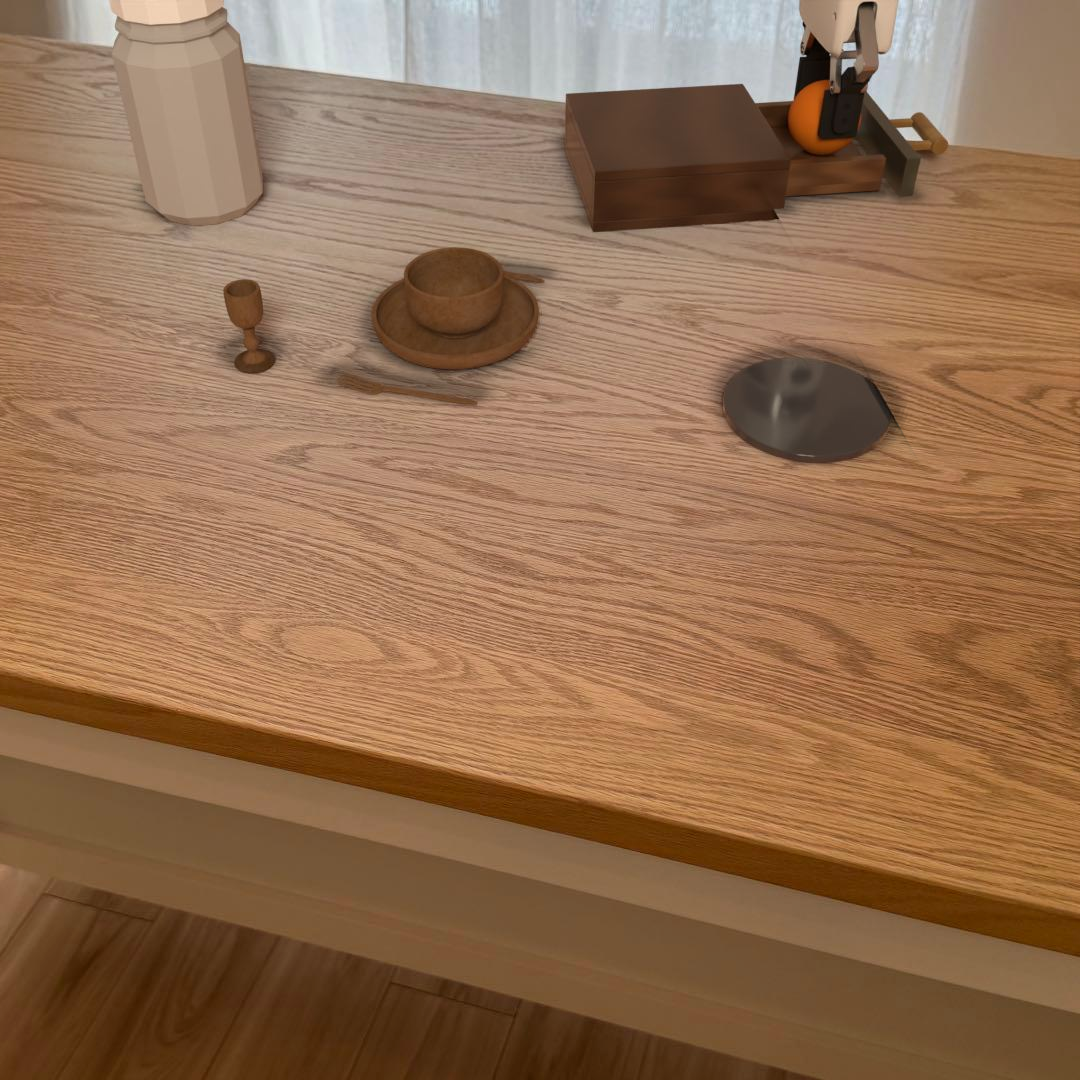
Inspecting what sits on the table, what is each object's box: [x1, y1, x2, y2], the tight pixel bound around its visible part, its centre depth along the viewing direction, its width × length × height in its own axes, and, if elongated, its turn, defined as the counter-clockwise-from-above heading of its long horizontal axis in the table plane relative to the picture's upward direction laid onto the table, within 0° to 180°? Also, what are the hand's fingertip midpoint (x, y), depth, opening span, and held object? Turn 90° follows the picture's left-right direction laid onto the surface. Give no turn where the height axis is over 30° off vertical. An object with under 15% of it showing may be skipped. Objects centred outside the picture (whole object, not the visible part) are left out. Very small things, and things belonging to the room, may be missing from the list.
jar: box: [108, 0, 264, 227], centre depth 98 cm, size 10×10×18 cm
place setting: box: [222, 246, 545, 406], centre depth 88 cm, size 18×20×6 cm
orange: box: [788, 80, 861, 155], centre depth 104 cm, size 6×6×6 cm
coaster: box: [722, 356, 892, 464], centre depth 83 cm, size 11×11×1 cm
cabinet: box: [564, 83, 791, 233], centre depth 105 cm, size 16×15×5 cm
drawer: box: [755, 90, 949, 198], centre depth 106 cm, size 19×14×3 cm
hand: (824, 117), depth 104 cm, fingers closed on orange, 6 cm apart
